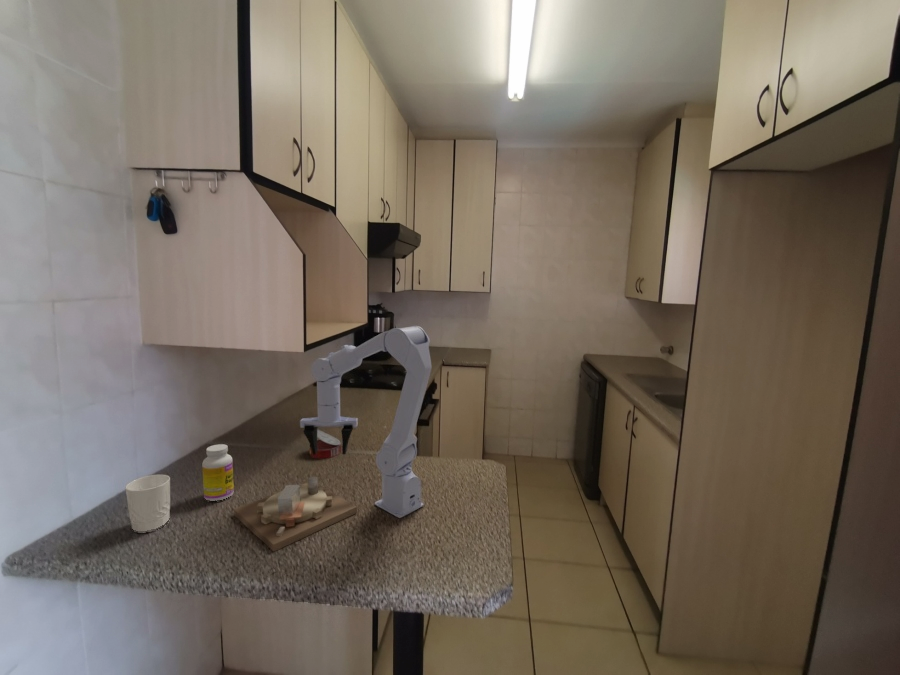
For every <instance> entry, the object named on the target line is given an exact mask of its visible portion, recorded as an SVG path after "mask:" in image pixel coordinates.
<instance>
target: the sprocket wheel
mask: <svg viewBox="0 0 900 675" xmlns="http://www.w3.org/2000/svg"><path fill="white" fill-rule="evenodd" d="M306 481H307V482H308V487H304V485H302V484H299V485H300V503H299V505H298V506H297V508H296V510H295V512H294V514H293V515H279V510H278V497H279V496H280V494H281V493H282V491H283V490H281V491H279V490H275V491H273V492H270V496H271V497H269V498H268V499H267V500H266V501H265V502H262V503H258V505H257V513H258V512H263V515H262V516H261V522H262V523H264V524H268V523H270V522H273V523H278V524H286V527H290V526H294V525H295V523H297V522H302V521H305V520H308V519H311V518H315V519H318V518H320V517H321V516H322V511H323V510H324V509H325V508H326V506H330V505H332V496H327V495H326V489H327V488H326V487H324V486H322V487H319V488H318V484H319V478H318V476H310V477H308V478H307V480H306Z"/></svg>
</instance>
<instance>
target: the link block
mask: <svg viewBox="0 0 900 675" xmlns="http://www.w3.org/2000/svg"><path fill="white" fill-rule="evenodd" d="M300 485H301V484H286V485H285V487H284V488H283V490H281V491H282V493H281V494H280V496H279V497H278V510H279V515H293V514H294V512H295V510H296V508H297V506H298V505H299V503H300Z"/></svg>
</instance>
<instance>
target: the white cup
mask: <svg viewBox="0 0 900 675" xmlns="http://www.w3.org/2000/svg"><path fill="white" fill-rule="evenodd" d="M124 489H125V494H126V501H127V509H128V514H129V515H128V516H129V519H130V526H131V530H132V529H133V530H136V531H147V530H151V529H156V528H158V527H160V526H162V525H164V524H165V523H166V522H167V521H168V520H169V518H170V517H171V514H170V510H171V477H170V476H169V475H167V474H151V475H146V476H142V477H139V478H137V479H134V480H132V481H130V482H128V483H127V484H126V485H125V488H124ZM170 519H171V518H170ZM169 521H170V520H169ZM133 530H132V531H133Z"/></svg>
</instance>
